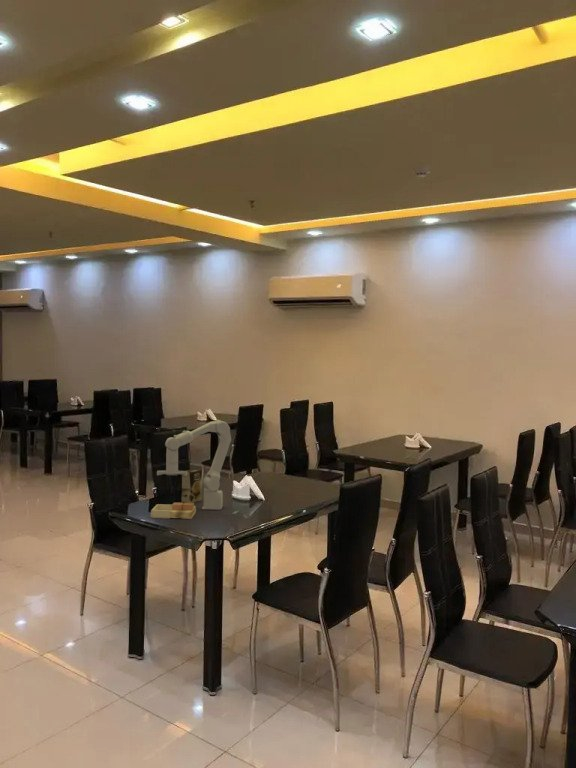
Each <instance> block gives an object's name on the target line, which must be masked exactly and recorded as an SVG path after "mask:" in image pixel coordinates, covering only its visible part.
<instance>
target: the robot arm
mask: <svg viewBox="0 0 576 768" xmlns="http://www.w3.org/2000/svg"><path fill="white" fill-rule="evenodd" d="M208 432H210V433H215V434H216V435H217V436H218V439H219V444H218V446H217V449H216V451H215V454H214V457H213V460H212V462H211V467H210V468H209V470H208V471H207V472H206V475H205V476H204V477H203V479H202V485H203V487H204V488H203V506H202V507H201V510H215V511H217V510H219V511H220V510H222V508H223V505H224V504H223V503H224V500H223V497H224V495H223V494H224V493H223V490H221V489H220V490H219V487H220V486H221V485H220V480H221V471H222V467H223V465H224V462H225V459H226V456H227V454H228V451H229V448H230V445H231V442H232V434H231V427H230V425H229V424H228V422H226V421H223V420H220V419H215V420H212V421H209V422H207V423H206V424H203V425H201V426H199V427H196V429H193V430H191V431H190V430H182V432H181V433H178V434H174V435H173V437H172V436H171V437H168V438H167V439H166V441H165V443H164V446H165V448H166V452H165V453H166V454H165V457H166V459H165V460H166V461H165V465H166V466H165V469H164V470H157V471H156V476H161V480H162V481H163V485H164V489H165V491H168V490H169V476H175V483H176V484H175V485H176V486H175V491H179V487H180V483H181V482H182V476H183V475H184V476H187V470H179V448H180V447H182V446H185V445H187V444H189V443H191V442H192V441H194V438H196V437H199V436H201V435H203V434H206V433H208Z"/></svg>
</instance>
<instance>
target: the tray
mask: <svg viewBox="0 0 576 768" xmlns="http://www.w3.org/2000/svg"><path fill="white" fill-rule="evenodd" d="M171 510H172V504H163V503H162V504H161V503H160V504H159V503H158V504H155V506H153V508H152V509H151V510H150V519H170V512H171Z"/></svg>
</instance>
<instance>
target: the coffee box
mask: <svg viewBox="0 0 576 768" xmlns="http://www.w3.org/2000/svg"><path fill="white" fill-rule="evenodd" d="M202 470H203V469H202ZM202 470H201V469H195V468H194V469H192V468H191V469H188V470H187V469H186V471H187V476H184V475H183V476H182V478H181V503H197V502H199V501H202V484H203V479H202V477H203V476H202V473H203V472H202Z"/></svg>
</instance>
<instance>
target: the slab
mask: <svg viewBox="0 0 576 768" xmlns="http://www.w3.org/2000/svg"><path fill="white" fill-rule="evenodd" d="M196 513H197V506H196V505H194V509H193V510H183V509H182V510H171V512H170V518H181V519H182V520H183V519H184V520H186V519H187V520H192V519H193V517H194V516H195V515H196ZM170 518H169V519H170ZM181 519H180V520H181Z"/></svg>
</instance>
